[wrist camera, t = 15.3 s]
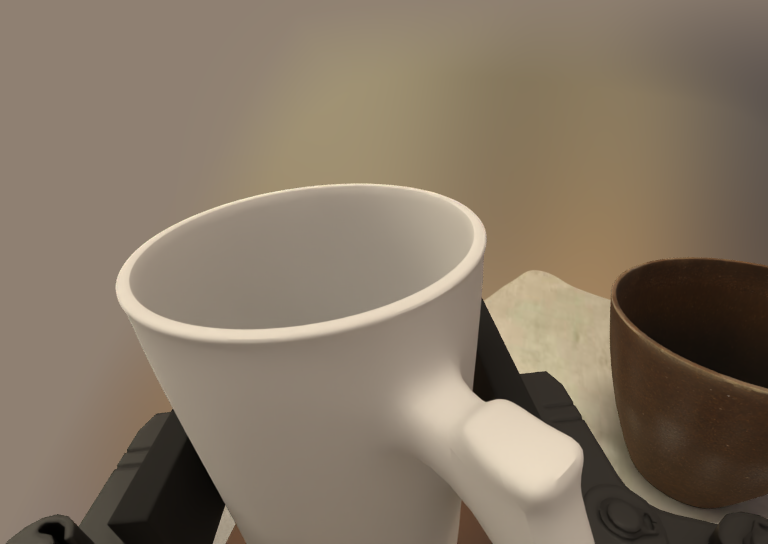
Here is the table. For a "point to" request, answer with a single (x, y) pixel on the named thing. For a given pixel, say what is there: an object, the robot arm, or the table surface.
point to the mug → (345, 371)
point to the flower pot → (694, 376)
